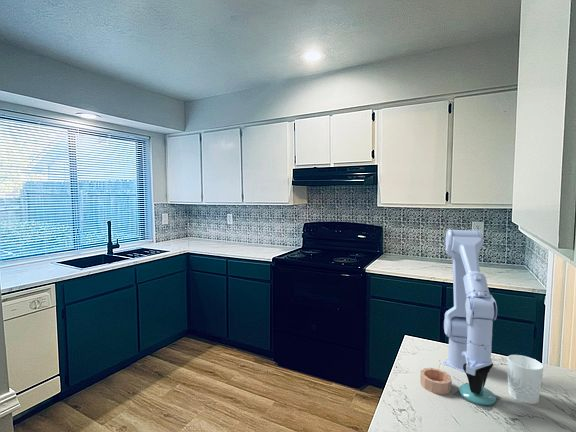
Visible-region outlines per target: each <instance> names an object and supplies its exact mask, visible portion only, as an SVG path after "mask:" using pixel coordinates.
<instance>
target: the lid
mask: <svg viewBox="0 0 576 432" xmlns="http://www.w3.org/2000/svg"><path fill="white" fill-rule="evenodd" d="M483 382H484V381H483ZM458 389H459V393H460V395H461V396H462V397H463V398H464V399H466V400H467V401H469V402H468V403H470V402H472V403H474V404H477V405H482V406H491V405H493V404H495V402H496V397H495V395H496V394H495V393H494V392H492V391H491V390H489V389H488V388H487V387H484V388H483V384H482V389H481V392H480V394H479V395H478V394H476V393H473V392H471V390H470V386H469V384H465V383H463V384H461V385H460V386H459V388H458ZM494 394H495V395H494ZM467 401H466V402H467ZM472 403H471V404H472ZM474 404H473V405H474ZM495 405H496V404H495Z"/></svg>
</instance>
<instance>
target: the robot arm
mask: <svg viewBox="0 0 576 432" xmlns="http://www.w3.org/2000/svg"><path fill="white" fill-rule="evenodd" d="M483 244H484V236H483V232H482V231H480V229H476V230H474V229H473V230H469V229H467V230H466V229H465V230H464V229H451V228H450V229H447V231H446V233H445V254H446V255H447V256H450V257H451V261H452V280H453V281H452V282H453V284H452V285H453V287H452V288H453V306H452V307H451V308H449V309H448V310H446V311H445V313H444V320H443V330H444V334H445V335H446V337H448V354H447V355H448V356H447V359H446V360H444V361H443V362H442V364H443V365H444V366H448V367H450V368H452V369H455V370H457V371H460V372H462V373H465V375H466V377H467V381H468V383H469V386H470V390H471V392H473V393H476V394H478V395H479V394H480V392H481V389H482V384H483V388H485V385H486V381H487V378H488V375H489V373H490V371H491V369H492V367H493V366H494V364H493V363H492V362H493V360H492V348H493V347H492V345H493V343H492V341H493V323H494V321H496V320H497V318H498V317H497V316H498V305H497V301H496V300H495V298H494V297H493V295H492V294H490V290H489V285H488V281H487V278H486V276H485V274H483V273H481V269H480V260H479V253H480V252H481V249H482V247H483ZM483 381H484V382H483Z"/></svg>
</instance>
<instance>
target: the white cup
mask: <svg viewBox="0 0 576 432" xmlns="http://www.w3.org/2000/svg"><path fill="white" fill-rule="evenodd" d="M506 361H507V362H506V363H507V385H508V387H507V388H508V391H507V392H508V394H509V396H510V397H512V398H514V399H515V400H516V401H518V402H522V403H524V404H525V403H526V404H528V405H529V404H530V405H533V404H538V403H539V402H540V395H541V390H542V389H541V388H542V382H543V376H544V375H543V373H544V365H543V363H541V362H540V361H538V360H536V359H535V358H532V357H529V356H526V355H521V354H510V355H508V356H507V359H506Z"/></svg>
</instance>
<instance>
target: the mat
mask: <svg viewBox="0 0 576 432" xmlns="http://www.w3.org/2000/svg"><path fill="white" fill-rule="evenodd" d="M464 384H469V382H465V383H464ZM493 394H494V395H495V397H496V402H495V404H493V405H491V406H482V405H477V404H474V403H472V402H469V401H467V400H466V399H464V398H463V397H462V396H461V395H460V393H459V388H458V389H457V390H456V391H454V393H452V396H455V397H457V398H458V399H461V400H463V401H465V402H468V403H470V404H472V405H474V406H476V407H479V408H480V409H483V410H484V411H487V412H490V411H491V410H492V409H493V408H494V407H495V406H496V404H497V403H498V402H499V401H500V400H501V399H502V397H501V396H499V395H498V394H497V395H496V394H495V393H493Z"/></svg>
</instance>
